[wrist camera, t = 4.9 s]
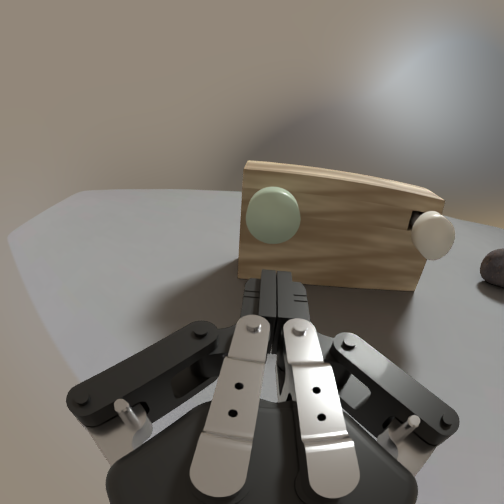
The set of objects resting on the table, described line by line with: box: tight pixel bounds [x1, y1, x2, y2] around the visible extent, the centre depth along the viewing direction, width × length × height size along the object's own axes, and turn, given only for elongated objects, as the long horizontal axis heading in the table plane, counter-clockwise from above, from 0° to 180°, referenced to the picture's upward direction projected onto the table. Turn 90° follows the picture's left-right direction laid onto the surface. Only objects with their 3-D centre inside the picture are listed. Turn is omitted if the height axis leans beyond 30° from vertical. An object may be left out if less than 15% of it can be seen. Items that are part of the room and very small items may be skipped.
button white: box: [409, 211, 455, 260], centre depth 24 cm, size 6×4×4 cm
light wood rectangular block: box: [238, 160, 445, 291], centre depth 29 cm, size 5×22×12 cm, turn 86°
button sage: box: [246, 187, 301, 244], centre depth 24 cm, size 6×4×4 cm
